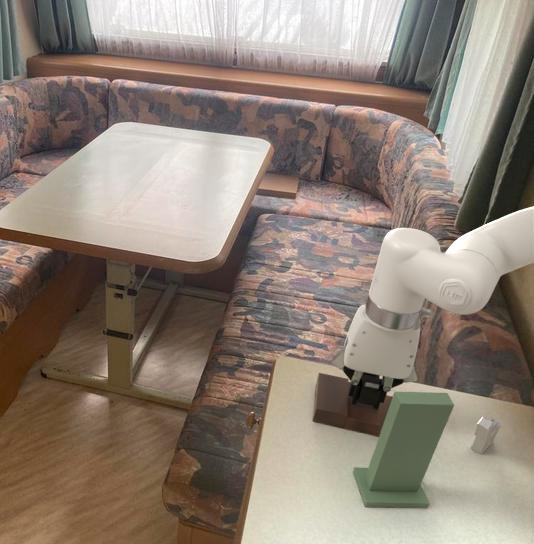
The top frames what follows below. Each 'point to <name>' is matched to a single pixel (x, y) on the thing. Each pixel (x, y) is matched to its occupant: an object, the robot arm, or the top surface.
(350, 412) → the brown stepped wooden block
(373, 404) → the clip
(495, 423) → the white blocky piece
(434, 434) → the stand
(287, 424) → the top surface
